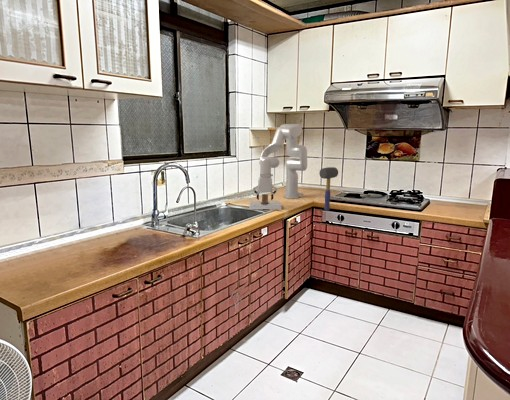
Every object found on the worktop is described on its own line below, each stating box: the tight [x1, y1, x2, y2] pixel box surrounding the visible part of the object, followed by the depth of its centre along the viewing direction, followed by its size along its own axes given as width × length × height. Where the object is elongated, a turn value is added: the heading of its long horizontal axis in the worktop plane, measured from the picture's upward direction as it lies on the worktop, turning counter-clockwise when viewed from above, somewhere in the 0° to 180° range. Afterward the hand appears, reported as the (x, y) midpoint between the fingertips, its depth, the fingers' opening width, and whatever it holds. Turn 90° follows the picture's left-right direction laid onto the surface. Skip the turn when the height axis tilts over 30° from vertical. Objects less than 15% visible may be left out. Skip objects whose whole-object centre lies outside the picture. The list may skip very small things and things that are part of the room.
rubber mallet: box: [318, 166, 339, 212], centre depth 244 cm, size 12×8×30 cm, turn 129°
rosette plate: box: [248, 200, 282, 211], centre depth 255 cm, size 22×14×3 cm, turn 92°
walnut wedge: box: [261, 193, 269, 204], centre depth 254 cm, size 4×4×9 cm
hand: (264, 199), depth 254 cm, fingers open, 9 cm apart
